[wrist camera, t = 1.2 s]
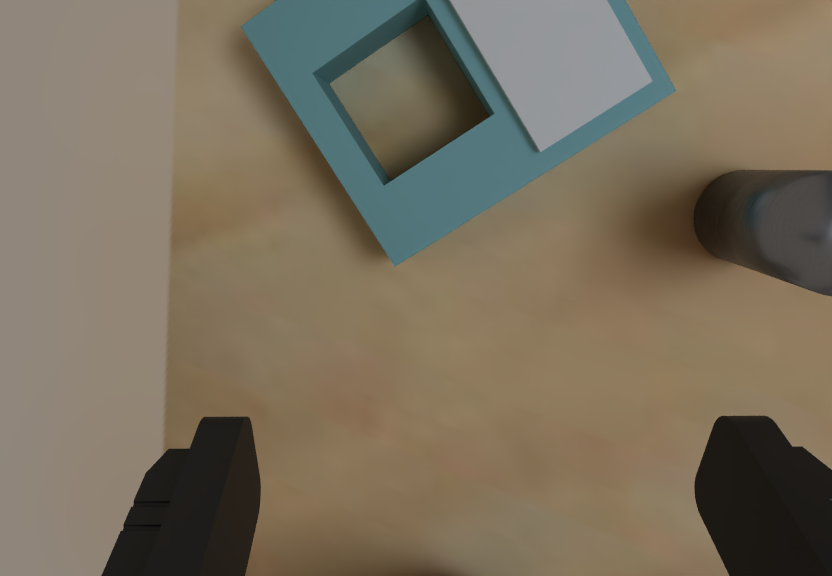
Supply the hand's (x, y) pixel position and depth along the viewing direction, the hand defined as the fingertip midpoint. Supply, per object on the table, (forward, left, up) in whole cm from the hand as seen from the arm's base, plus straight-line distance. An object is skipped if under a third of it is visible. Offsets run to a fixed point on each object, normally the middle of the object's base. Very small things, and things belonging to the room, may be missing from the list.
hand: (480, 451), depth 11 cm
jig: (-5, -9, -26) cm, 28 cm away
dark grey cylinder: (-14, +6, -26) cm, 30 cm away
